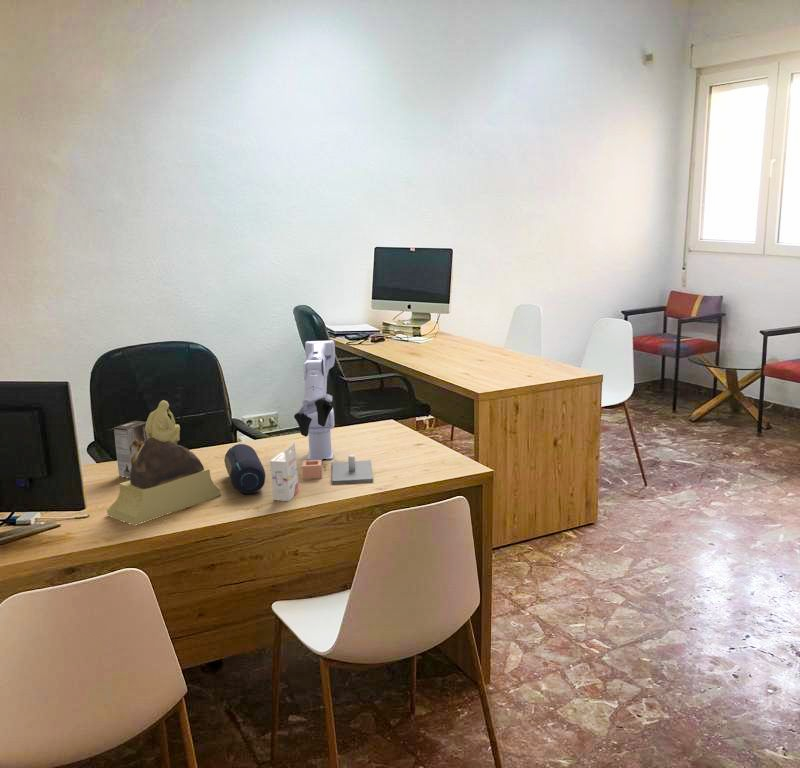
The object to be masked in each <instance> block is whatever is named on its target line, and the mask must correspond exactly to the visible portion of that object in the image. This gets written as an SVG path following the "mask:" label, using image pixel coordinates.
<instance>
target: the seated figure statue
mask: <svg viewBox="0 0 800 768" xmlns="http://www.w3.org/2000/svg"><path fill="white" fill-rule="evenodd" d="M158 403H159V404H158V405H157V408H156V409H155V410H154V411H151V412H150V413H149V414H148V417H147V420H146V421H145V422H146V426H145V430H146V434H147V437H148V440H147V441H146V442H145V443H144V444H143V445H142V446H141V448H140V450H139V452H138V456H137V460H136V461H135V462H134V464H133V466H132V468H131V471H130V479H129V480H127V481H124V482H121V483H119V484H118V486H119V492H118V496H117V498H116V500H115V501H114V502H113V503H112V504H111V505H110V506H109V508H107V509H106V513H107V516H108V515H109V516H112V517H114V518H113V519H115V518H116V519H115V520H117V519H119V520H118V521H120V520H122V521H121V522H123V521H125V522H128V523H131V524H133V525H136V524H139V523H141V522H144V521H147V520H150V519H153V518H156V517H159V516H162V515H165V514H167V513H170V512H173V513H175V512H174V511H176V512H178V511H177V510H179V509H181V510H183V509H182V508H184V509H187V508H189V507H188V506H190V507H192V506H194V505H198V504H200V502H201V503H204V502H206V501H209V500H212V499H215V498H217V497H220V496H221V493H222V492H221V488H220V487H218V486H217V485H216V484H214V481H213V480H212V478H211V472H210V468H206V467H204V465H203V463H202V461H201V460H200V459H199V458H198V457H197V455H196V454H195V453H194V452H193V451H190V449H189V448H187V447H184V446H183V445H180V444H178V442H180V439H181V438H180V433H181V432H180V431H181V427H180V424H176V420H175V416H174V414H173V412H171V410H170V409H169V407H170V404H169V402H168V401H167V400H164V399H163V400H161V401H160V402H158ZM168 415H169V416H168ZM150 434H151V437H150ZM219 495H220V496H219ZM216 496H217V497H216ZM214 497H215V498H214ZM211 498H212V499H211ZM208 499H209V500H208ZM205 500H206V501H205ZM203 501H204V502H203ZM186 507H187V508H186ZM179 511H180V510H179ZM170 514H171V513H170ZM167 515H168V514H167ZM109 516H108V517H109ZM165 516H166V515H165ZM112 517H111V518H112ZM162 517H163V516H162ZM159 518H160V517H159ZM156 519H157V518H156ZM153 520H154V519H153ZM125 522H124V523H125ZM128 523H127V524H128ZM131 524H130V525H131ZM133 525H132V526H133Z"/></svg>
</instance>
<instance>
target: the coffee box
mask: <svg viewBox="0 0 800 768" xmlns="http://www.w3.org/2000/svg"><path fill="white" fill-rule="evenodd" d="M146 422H147V421H142V420H141V421H140V420H133V421H130V422H127V423H124V424H120V425H118V426H114V427H112V428H113V436H114V443H115V452H116V453H115V454H116V460H117V461H116V462H117V467H118V468H117V470H118V476H124V477H128V478H130V471H131V468H132V466H133V464H134V462H135V461H136V460H137V456H138V452H139V450H140V448H141V446H142V445H143V444H144V443H145V442H146V441H147V440H148V437H147V434H146V430H145V426H146ZM150 437H151V438H152V436H151V434H150ZM128 478H127V479H128Z"/></svg>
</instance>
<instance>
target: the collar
mask: <svg viewBox="0 0 800 768" xmlns="http://www.w3.org/2000/svg"><path fill="white" fill-rule="evenodd" d="M301 465H302V479H303V480H309V479H308V478H314V479H322V478H323V463H322V460H308V459H307V460H303V461H302V464H301Z"/></svg>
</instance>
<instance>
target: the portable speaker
mask: <svg viewBox="0 0 800 768" xmlns="http://www.w3.org/2000/svg"><path fill="white" fill-rule="evenodd" d="M224 455H225V456H224V466H225V468H226V471H227V474H228V476H229V477H228V478H229V480H230V483H231V484H232V487H233V489H235V490H236V492H239V493H241V494H245V495H247V494H249V495H251V494H254V493H257V492H259V491H260V490H261V489H262V488H263V487H264V485H265V482H266V472H265V471H266V470H265V468H264V465H263V464H262V462H261V460H260V457H259V456H258V454H257V451H256V450H255V449H254V448H253V447H252V446H250V445H248V444H243V443H238V444H234V445H233V446H232V447H229V449H228V450H227V452H226V453H225V454H224Z"/></svg>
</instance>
